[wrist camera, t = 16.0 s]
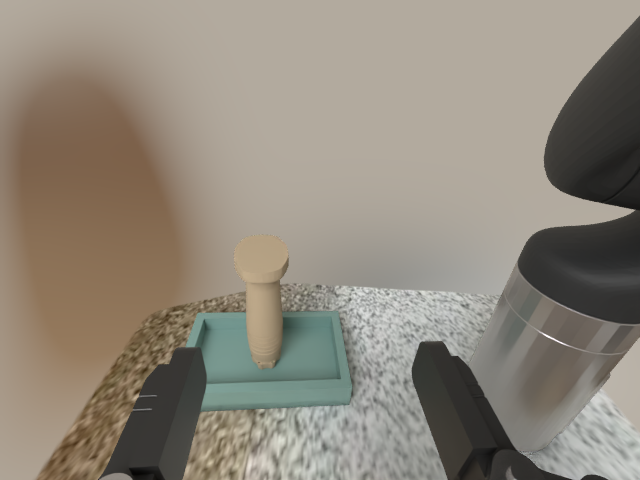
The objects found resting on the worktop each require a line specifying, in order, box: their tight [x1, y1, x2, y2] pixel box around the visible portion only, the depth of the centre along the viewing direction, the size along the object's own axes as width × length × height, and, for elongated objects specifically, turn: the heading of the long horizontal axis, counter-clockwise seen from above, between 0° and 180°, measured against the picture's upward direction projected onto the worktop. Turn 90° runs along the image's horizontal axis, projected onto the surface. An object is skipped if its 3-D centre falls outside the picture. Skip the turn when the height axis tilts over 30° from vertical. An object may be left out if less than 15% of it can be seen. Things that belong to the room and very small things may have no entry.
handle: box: [234, 235, 288, 370], centre depth 32 cm, size 5×6×15 cm
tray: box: [186, 311, 352, 412], centre depth 36 cm, size 18×11×3 cm, turn 95°
